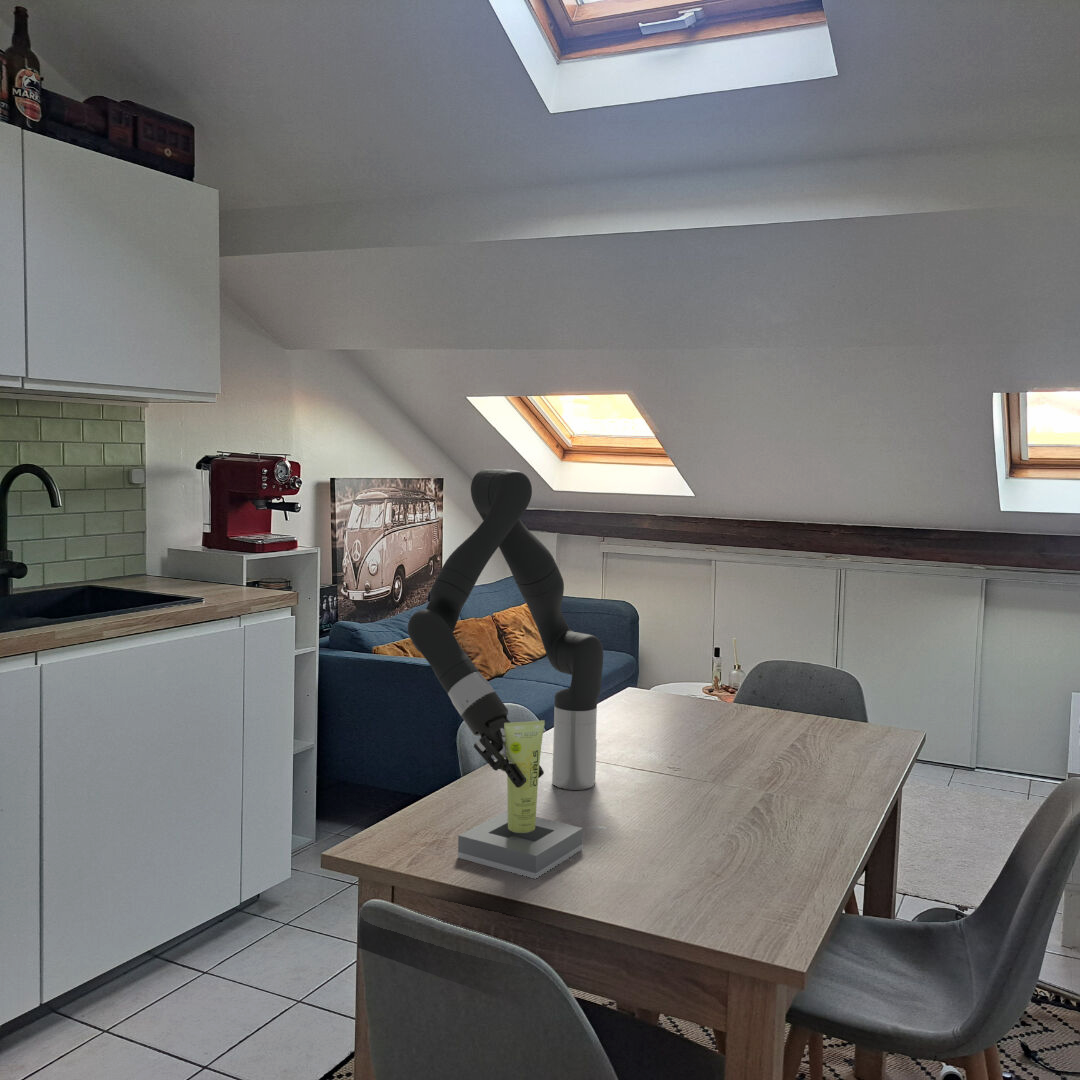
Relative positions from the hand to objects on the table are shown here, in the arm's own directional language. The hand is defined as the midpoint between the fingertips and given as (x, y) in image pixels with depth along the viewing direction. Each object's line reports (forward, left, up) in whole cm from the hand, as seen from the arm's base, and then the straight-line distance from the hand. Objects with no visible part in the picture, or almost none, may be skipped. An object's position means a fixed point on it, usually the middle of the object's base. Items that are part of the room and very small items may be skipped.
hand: (531, 780), depth 176 cm
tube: (0, -2, -9) cm, 10 cm away
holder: (0, -2, -14) cm, 14 cm away
